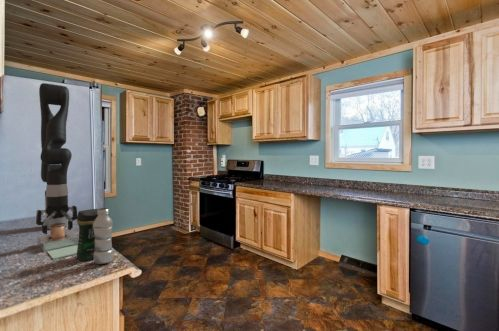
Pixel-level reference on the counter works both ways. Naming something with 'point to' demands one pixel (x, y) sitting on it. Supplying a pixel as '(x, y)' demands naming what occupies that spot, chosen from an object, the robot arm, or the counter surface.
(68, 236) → the housing
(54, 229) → the tan rounded cylinder
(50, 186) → the robot arm
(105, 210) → the plastic bottle
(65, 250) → the mat
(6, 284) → the counter surface
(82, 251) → the coffee jar
